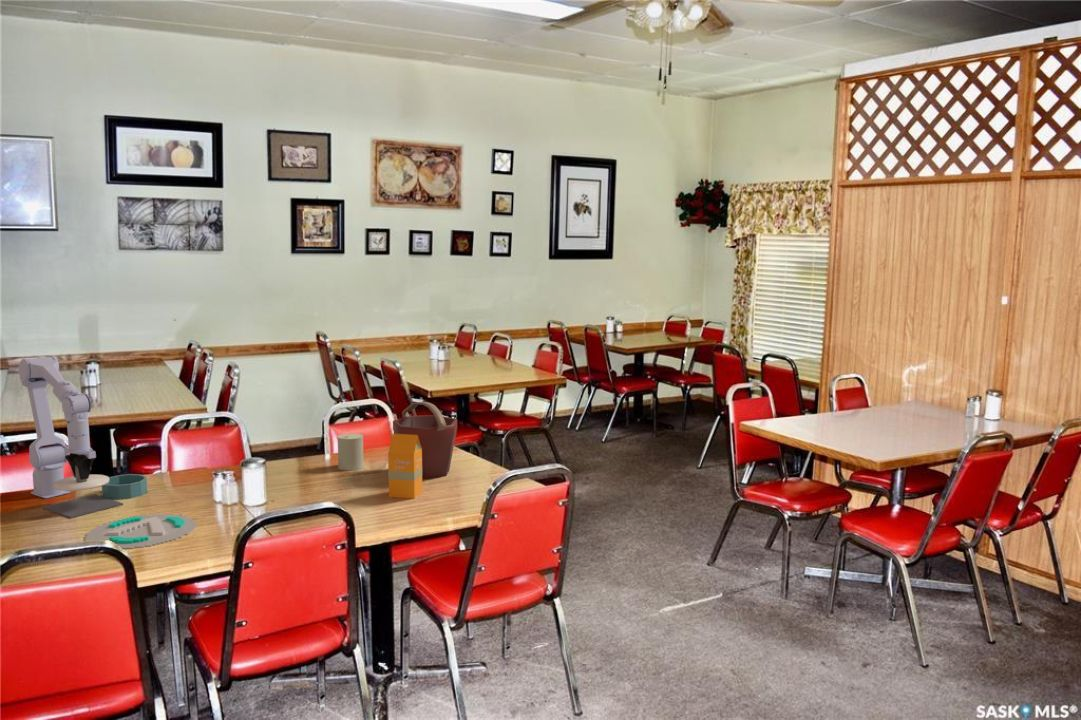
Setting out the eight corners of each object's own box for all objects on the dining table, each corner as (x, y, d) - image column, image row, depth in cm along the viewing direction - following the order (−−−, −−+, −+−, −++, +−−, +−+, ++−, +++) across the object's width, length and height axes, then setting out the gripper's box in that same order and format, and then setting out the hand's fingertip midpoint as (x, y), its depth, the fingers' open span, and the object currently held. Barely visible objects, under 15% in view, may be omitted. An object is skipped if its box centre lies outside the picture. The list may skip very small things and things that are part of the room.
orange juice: (414, 498, 273) (413, 437, 270) (388, 496, 275) (387, 436, 272) (422, 491, 280) (422, 432, 278) (397, 490, 282) (396, 430, 279)
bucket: (388, 466, 311) (387, 399, 307) (447, 461, 319) (446, 395, 316) (405, 484, 288) (404, 412, 285) (467, 478, 297) (467, 407, 294)
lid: (44, 485, 259) (42, 466, 258) (93, 474, 271) (91, 456, 270) (69, 493, 251) (68, 474, 250) (119, 482, 263) (118, 463, 262)
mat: (43, 508, 260) (43, 506, 260) (95, 495, 273) (95, 494, 273) (70, 518, 251) (70, 516, 251) (123, 504, 264) (123, 503, 264)
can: (333, 469, 307) (332, 436, 305) (346, 463, 316) (345, 431, 314) (356, 471, 304) (355, 438, 302) (368, 465, 313) (367, 433, 311)
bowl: (94, 494, 274) (93, 481, 274) (132, 485, 285) (132, 472, 284) (116, 501, 267) (115, 487, 266) (155, 491, 278) (154, 478, 277)
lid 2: (209, 516, 255) (209, 511, 255) (172, 550, 228) (172, 544, 228) (114, 516, 254) (114, 511, 254) (65, 550, 227) (65, 545, 227)
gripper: (52, 433, 260) (55, 476, 261) (77, 440, 251) (80, 484, 253) (76, 429, 265) (79, 471, 267) (101, 435, 257) (104, 479, 259)
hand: (81, 477), depth 261 cm, fingers closed on lid, 3 cm apart
